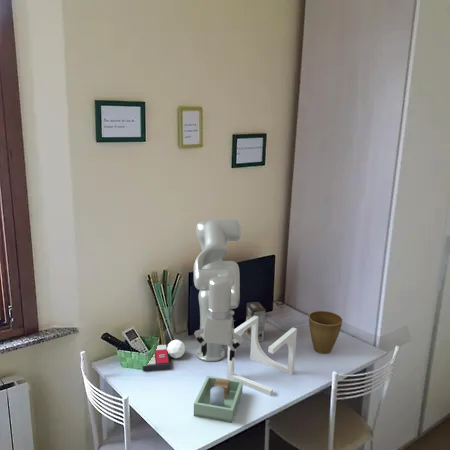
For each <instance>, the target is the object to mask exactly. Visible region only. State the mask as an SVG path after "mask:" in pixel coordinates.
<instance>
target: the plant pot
mask: <svg viewBox="0 0 450 450" xmlns="http://www.w3.org/2000/svg"><path fill="white" fill-rule="evenodd" d="M343 320H344V319H343V317H342V316H340V315H339V314H337V313H335V312H331V311H325V310H316V311H312V312H310V313H309V314H308V326H309V334H310V338H311V342H312V346H313V349H314V351H315V352H316V353H318V354H320V355H321V354H322V355H327V354H330V353H331V352H332V350H333V348H334V346H335V344H336V342H337V340H338V337H339V335H340V332H341V329H342V325H343Z"/></svg>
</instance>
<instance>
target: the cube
mask: <svg viewBox="0 0 450 450" xmlns="http://www.w3.org/2000/svg"><path fill="white" fill-rule="evenodd" d="M219 378H220V377H218V378H217V379H216V382H215V384H214V387H215V386H220V387H222V388H224V399H227V397H228V395H229V391H230V380H226V379H227V378H224V379H219Z"/></svg>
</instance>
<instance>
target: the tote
mask: <svg viewBox="0 0 450 450" xmlns="http://www.w3.org/2000/svg"><path fill="white" fill-rule="evenodd" d="M217 378H219V379H226V380H230V379H228V378H223V377H216V376H210V375H207V376H206V378H205V380H204V382H203V384H202V386H201V388H200V390H199V392H198V394H197V396H196V399H195V400H194V403H193V416H194V417H197V418H202V419H208V420H214V421H219V422H224V423H231V424H232V423H233V422H234V419H235V416H236V413H237V410H238V407H239V404H240V401H241V398H242V395H243V386H244V385H243V381H237V380H230V391H229V395H228V397H227V399H224V407H220V406H215V405H210V390H211V388H212V387H214V384H215V382H216V379H217Z"/></svg>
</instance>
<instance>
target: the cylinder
mask: <svg viewBox="0 0 450 450" xmlns="http://www.w3.org/2000/svg"><path fill="white" fill-rule="evenodd" d="M210 405H215V406H220V407H224V388H222V387H220V386H215V387H212V388H211V390H210Z"/></svg>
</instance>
